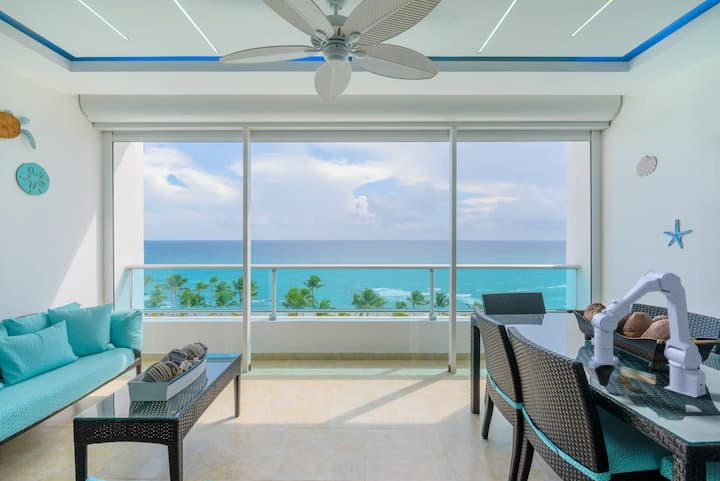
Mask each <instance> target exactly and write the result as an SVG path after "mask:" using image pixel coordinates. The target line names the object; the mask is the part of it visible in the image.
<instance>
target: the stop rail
mask: <svg viewBox="0 0 720 481" xmlns="http://www.w3.org/2000/svg"><path fill="white" fill-rule="evenodd" d="M620 375H621V376H623V377H626V378H627V377H628V378H631V379H634V380H637V381H641V382H643V383H648V384H651V385H657V375H656V374H653V373H648V372H645V371H641V370H637V369H633V368H631V367H626V366H623V365H622V366H620Z"/></svg>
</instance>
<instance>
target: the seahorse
mask: <svg viewBox="0 0 720 481" xmlns="http://www.w3.org/2000/svg"><path fill="white" fill-rule="evenodd" d="M615 380H617V381H618V382H620V383H621V384H622V385H623V386H624V387H625V388H627V389H629V390H631V391H634V392H637V393H640V394H646V393H647V391H646V390H645V389H642V388H640V387H638V388H636V387H634V386H632V384H631V383H633V380H630V379H629V378H627V376H624V375H621V376H620V375H616V376H615Z"/></svg>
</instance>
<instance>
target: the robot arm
mask: <svg viewBox="0 0 720 481" xmlns="http://www.w3.org/2000/svg"><path fill="white" fill-rule="evenodd" d="M652 292H653V293H654V292H660V293H661V294H663V295H664V296H665V297H666V307H667V316H668V326H669V336H670V338H668V339H667V341H665V348H664V349H665V350H664V357H665V358H666V360H668V363H669V385H667V386H664V390H668V391H672V392H675V393H678V394H682V395H684V396H689V397H693V398H695V399H696V398H698V397H701V396H704V395H707V391H706V374H705V372H704V371H703V370H700V369H698V368H699V367H700V366H701V364H702V360H703V359H702V356H701V354H700V352H699V347H698V346H697V345H696V344H695V343H694V342H693V341H692V340H691V335H690V326H689V316H688V306H687V295H686V294H687V293H686V290H685V288H684V286H683V285H682V283H681V277H680V276H678V275H677V274H675V273H673V272H664V271H657V270H648V271H646V272H645V273H643V275H640V276H639V279H638V282H637V283H636V284H634V286H633V287H632V288H631V289H630V290H628V292H627V293H626V294H625V295H624V296H623V297H622V298H616V299H613V300H611V301H610V304H609V305H607V307H605V308H604V309H602V310H601V311H600V312H598V313H596V314H594V315H593V316H592V319H591V320H590V323H591V325H592V328H593V332H594V337H593V338H594V339H593V340H594V343H593V344H594V351H593V352H594V354H593V355H594V356H591V357H590V359H591V360H590V361H588V368H589V369H593V370H594V372H595V374H596V377H597V380H598V384H599V385H600V386H602V387H608V384H609V381H610V378H611V377H612V374H613V372H614V370H616V369H615V368H616V367H615V366H614V365H613V364H618V363H619V357H618V356H614V331H615V330H617V328H618V323H619V322H620V321H621V320H622V319H623V318H624V317H625V316H626V315H627V314H629V313H630V312H631V310H632V307H631V306H633V304H635V303H636V302H637V301H639V300H640V299H641V298H642V297H644V296H645V295H646V294H648V293H652Z"/></svg>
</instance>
